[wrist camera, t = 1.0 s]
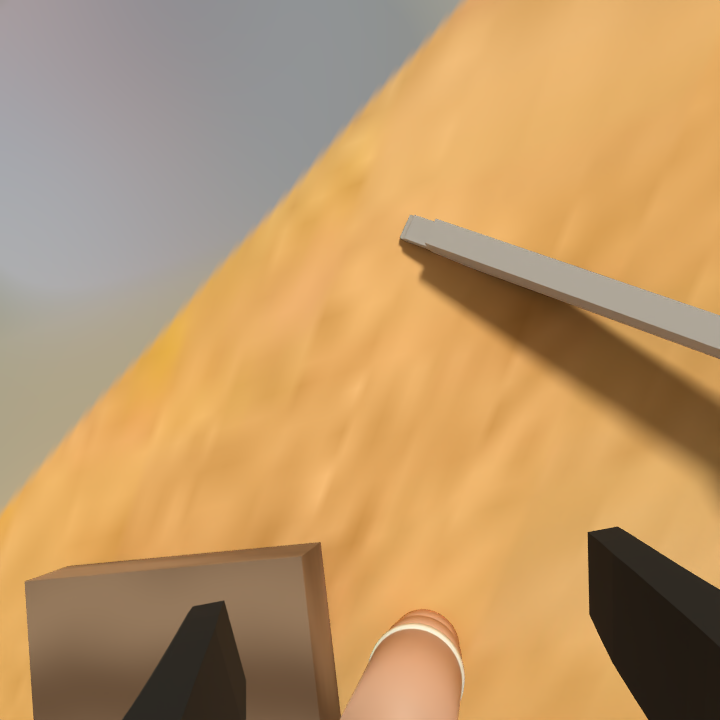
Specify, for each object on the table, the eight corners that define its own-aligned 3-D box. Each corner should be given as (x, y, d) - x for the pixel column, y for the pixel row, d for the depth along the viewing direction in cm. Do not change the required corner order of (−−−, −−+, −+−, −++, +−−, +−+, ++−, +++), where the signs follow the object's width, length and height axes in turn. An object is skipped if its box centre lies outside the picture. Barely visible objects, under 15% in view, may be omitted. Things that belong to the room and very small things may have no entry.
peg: (473, 686, 23) (463, 827, 15) (388, 690, 24) (336, 827, 16) (461, 597, 23) (444, 690, 15) (377, 604, 24) (321, 695, 16)
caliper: (980, 442, 21) (1186, 454, 15) (966, 473, 21) (1165, 498, 15) (410, 217, 25) (384, 153, 19) (399, 242, 25) (369, 186, 19)
